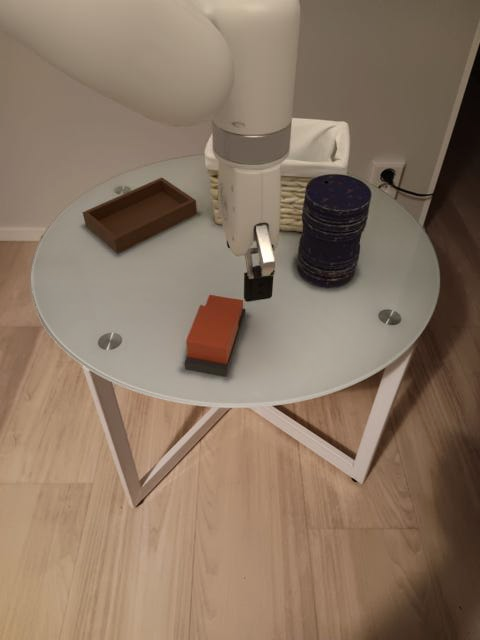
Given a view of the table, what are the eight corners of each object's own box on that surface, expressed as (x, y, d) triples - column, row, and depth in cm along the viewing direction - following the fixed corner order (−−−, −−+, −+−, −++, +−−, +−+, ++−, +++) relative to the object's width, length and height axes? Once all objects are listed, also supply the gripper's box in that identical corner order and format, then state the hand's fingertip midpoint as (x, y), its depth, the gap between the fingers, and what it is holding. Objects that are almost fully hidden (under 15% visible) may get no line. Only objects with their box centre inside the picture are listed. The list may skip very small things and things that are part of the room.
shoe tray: (117, 253, 88) (114, 239, 86) (85, 226, 93) (82, 212, 91) (196, 214, 96) (196, 200, 94) (163, 190, 101) (161, 177, 99)
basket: (205, 227, 93) (200, 153, 82) (221, 180, 104) (220, 109, 93) (336, 241, 90) (349, 166, 80) (339, 191, 101) (351, 119, 91)
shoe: (226, 377, 70) (226, 354, 66) (185, 369, 71) (182, 346, 67) (245, 315, 78) (245, 292, 74) (207, 309, 79) (206, 285, 75)
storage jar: (367, 275, 84) (386, 198, 73) (319, 296, 81) (332, 218, 70) (330, 243, 90) (343, 167, 79) (284, 261, 87) (291, 184, 76)
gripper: (198, 101, 54) (205, 232, 66) (231, 189, 42) (232, 327, 55) (266, 95, 55) (261, 224, 68) (317, 179, 44) (298, 317, 56)
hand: (248, 270), depth 61 cm, fingers open, 9 cm apart
